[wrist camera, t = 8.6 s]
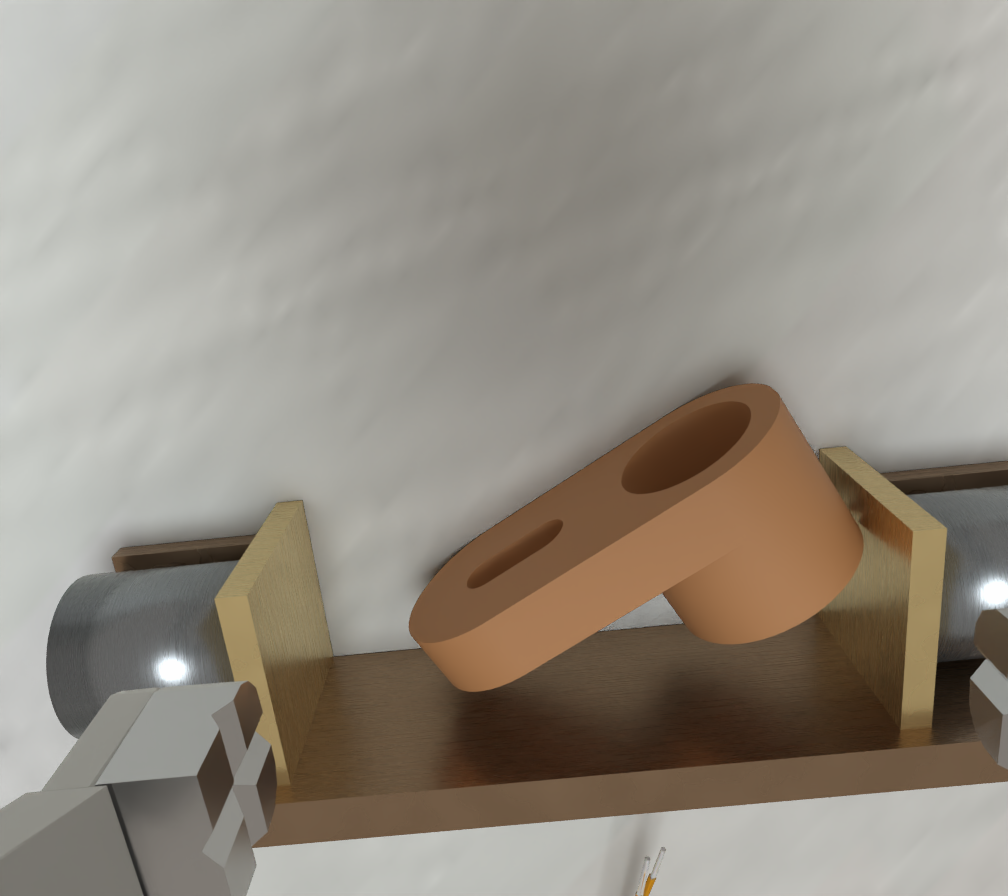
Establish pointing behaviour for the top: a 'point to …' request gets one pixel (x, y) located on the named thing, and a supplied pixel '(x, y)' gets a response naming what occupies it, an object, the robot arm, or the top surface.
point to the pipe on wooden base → (571, 680)
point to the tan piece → (651, 544)
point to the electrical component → (647, 885)
